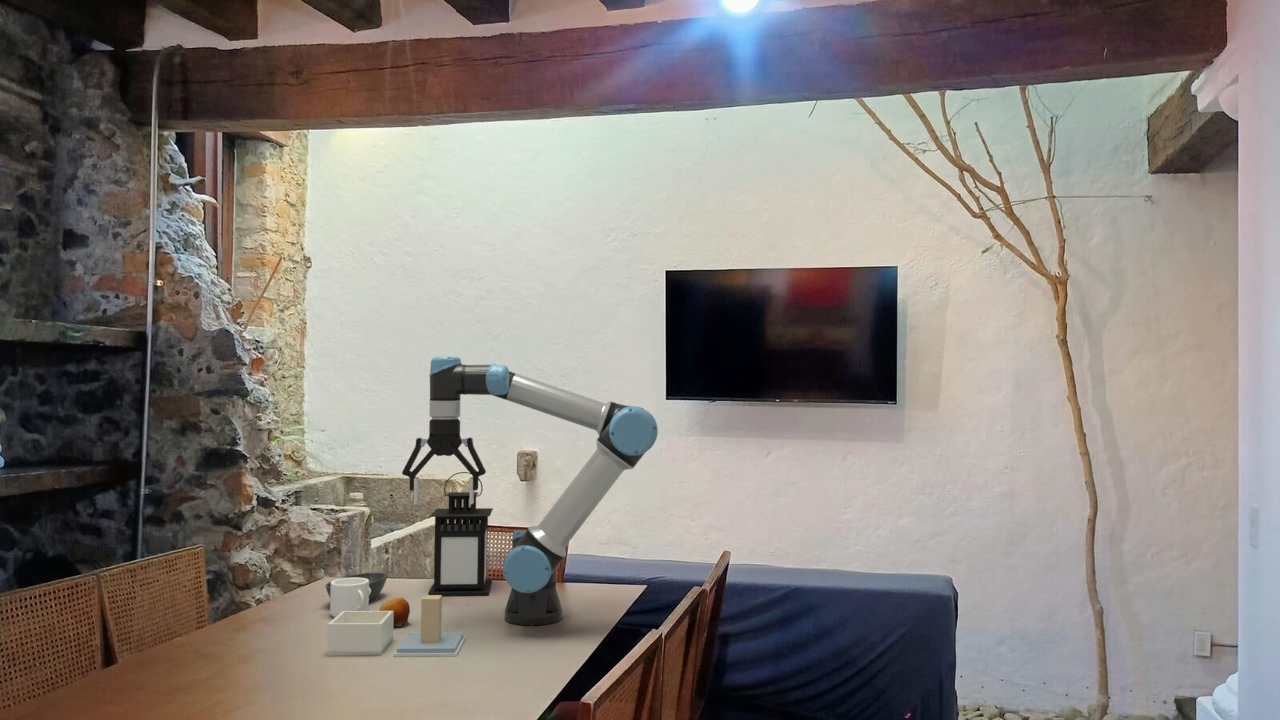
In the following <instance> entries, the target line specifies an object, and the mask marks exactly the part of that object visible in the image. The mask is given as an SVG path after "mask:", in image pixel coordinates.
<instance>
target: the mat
mask: <svg viewBox="0 0 1280 720" xmlns="http://www.w3.org/2000/svg"><path fill="white" fill-rule="evenodd" d="M466 638H467V637H466V636H464V635H463V639H462V640H461V642H460V644H459V646H458V648H457V650H456V652H455V653H396V650H395V651H394V653H393V658H395V657H399V658H400V657H406V658H407V657H411V658H412V657H416V658H417V657H419V658H420V657H457V656H458V654H459V653H460V650H461V648H462V646H463V645H464V643H465V640H466Z"/></svg>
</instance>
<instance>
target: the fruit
mask: <svg viewBox="0 0 1280 720" xmlns="http://www.w3.org/2000/svg"><path fill="white" fill-rule="evenodd" d="M410 608H411V607H410V603H409V602H408V601H407V599H405V598H403V597H398V596H397V597H392V598H391V599H388V600H386V601H385V602H383V603H382V604H381V605H380V608H378V609H379V610H378V611H394V620H393V628H395V627H399V628H401V627H402V624H409V625H410V623H409V621H408V620H409V616H410V614H411V613H410V611H411V609H410Z"/></svg>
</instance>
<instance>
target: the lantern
mask: <svg viewBox="0 0 1280 720" xmlns="http://www.w3.org/2000/svg"><path fill="white" fill-rule="evenodd" d="M459 474H468V475H471V473H470V472H469V471H461V472H456V473H454V474H452V475H451V476H449V478H447V480H446V481H445V484H444V488H443V492H444V495H445V496H446V497H448V508H436V509H435V510H434V511H433V512H432V513H431V514H430V515H429V518H431V517H432V518H434V554H433V555H434V556H433V557H434V561H433V562H434V565H433V583H432V586H431V587H430V589H429V591H428V593H427V595H442V598H445V597H447V598H450V597H456V598H457V597H489V596H490V591H491V589H492V584H493V580H492V579H488V544H489V543H488V537H489V536H488V535H489V533H488V532H489V531H488V529H489V527H488V526H489V517H490V516H491V514H492V512H493V510H494V508H491V507H490V508H485V507H483V508H482V507H481V508H480V507H479V508H477V498H478V497H481V495H482V493H483V489H484V488H483V483H482V481H481V479H480V477H478V482H479V483H480V487H481V489H480V493H479V492H477V491H476V492H475V491H474V503H473V504H470V491H467V492H465V491H463V492H461V491H460V492H459V491H458V492H457V491H455V492H454V491H453V492H452V491H450V492H448V493H447V492H446V486H447V484H448V482H449V481H450V479H451V478H453V477H454V476H456V475H459Z"/></svg>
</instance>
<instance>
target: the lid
mask: <svg viewBox="0 0 1280 720" xmlns="http://www.w3.org/2000/svg"><path fill="white" fill-rule="evenodd" d="M420 602H421V604H420V605H421V606H420V608H421V609H420V610H421V613H420V632H408V633H407V635H405V637H404V638H403V640H402V641H401V642H400V643H399V645H398V646H397V647H396V650H395V651H396V653H455V652H456V650H457V648H458V646H459V644H460V642H461V640H462V639H463V636H464V632H442V624H443V623H442V620H443V619H442V616H443V611H442V609H443V597H442V595H428V594H425V595H424V596H423V597H422V598H421V601H420Z"/></svg>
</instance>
